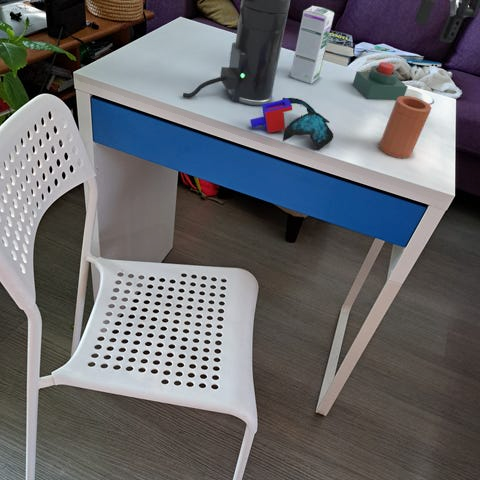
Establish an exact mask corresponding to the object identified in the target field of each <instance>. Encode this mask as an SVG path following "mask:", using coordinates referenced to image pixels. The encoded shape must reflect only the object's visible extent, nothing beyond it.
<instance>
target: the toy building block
mask: <svg viewBox="0 0 480 480" xmlns="http://www.w3.org/2000/svg"><path fill="white" fill-rule="evenodd" d="M282 99H283V98H282ZM282 99H280V100H275V101H272V102H271V101H270V102H269V103H267V104H262V105H261V109H262V116H260V117H255V118H252V119H250V126H251V128H252V129H254V128H257V127H262V126H265V129H266V132H267V134H270V133H275V132H279V131H284V129H285V128H286V122H285V113H286V112H291V111H293V105H292V104H291V103H290V101H289V99H283V100H282Z"/></svg>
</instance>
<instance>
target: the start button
mask: <svg viewBox="0 0 480 480" xmlns="http://www.w3.org/2000/svg"><path fill="white" fill-rule="evenodd" d="M377 66H378V69H377V71H378V72H380V73H382V74H386V75H392V72H393V70H395V66H394V65H393V64H392V63H389V62H386V61H381V62H379V63H378V65H377Z"/></svg>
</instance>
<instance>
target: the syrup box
mask: <svg viewBox="0 0 480 480" xmlns="http://www.w3.org/2000/svg"><path fill="white" fill-rule="evenodd" d="M334 16H335V11H333V10H331V9H328V8H326V7H322V6H316V5H311V6H310V7H308V8H306V9H304V10H303V11H302V17H301V22H300V26H299V31H298V36H297V41H296V45H295V52H294V56H293V61H292V65H291V71H290V75H289V76H290V77H291V78H293V79H295V80H298V81H300V82H304V83H307V84H313V83H314V82H315V81H316V80H318V78H319V77H320V74H321V71H322V66H323V61H324V58H325V53H326V49H327V45H328V41H329V38H330V33H331V29H332V25H333V20H334Z"/></svg>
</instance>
